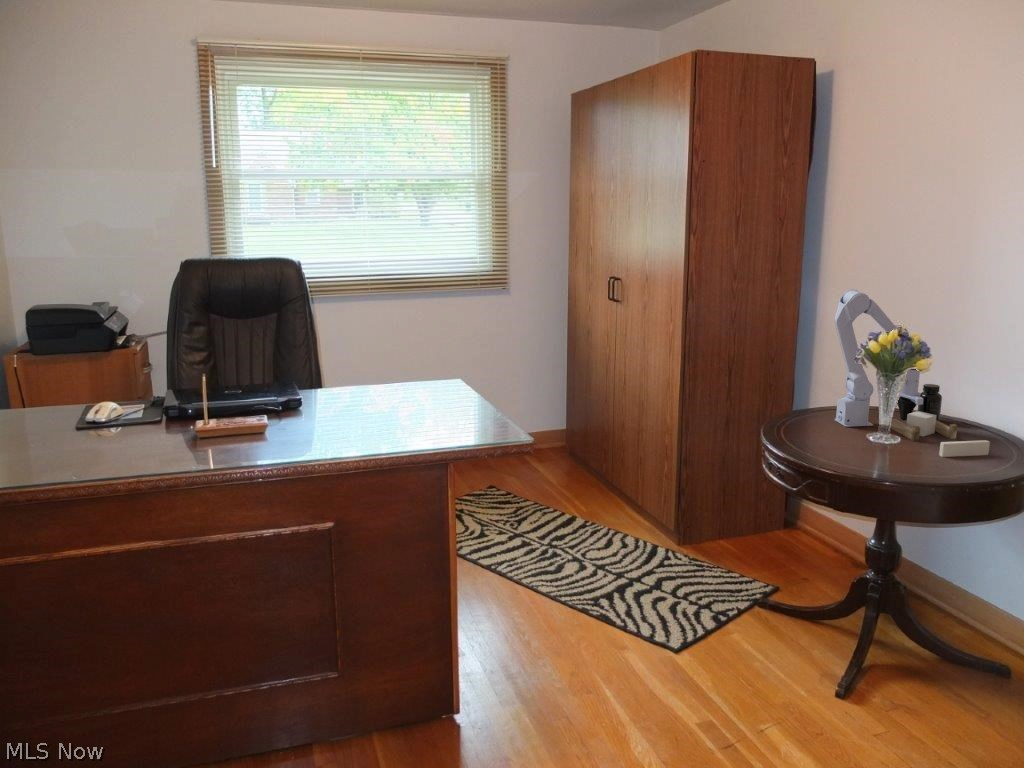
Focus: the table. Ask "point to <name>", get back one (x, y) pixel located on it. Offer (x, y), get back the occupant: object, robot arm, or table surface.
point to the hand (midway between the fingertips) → (904, 419)
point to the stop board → (964, 448)
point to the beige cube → (922, 422)
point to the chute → (914, 432)
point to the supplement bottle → (931, 400)
